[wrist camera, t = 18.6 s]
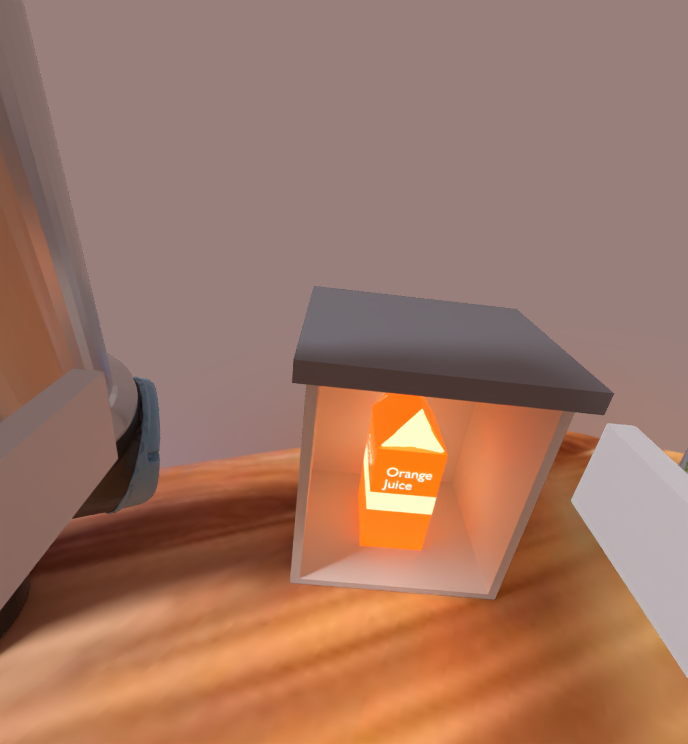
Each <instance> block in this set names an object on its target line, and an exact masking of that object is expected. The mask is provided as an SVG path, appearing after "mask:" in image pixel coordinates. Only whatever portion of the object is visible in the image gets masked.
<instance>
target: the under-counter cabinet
mask: <svg viewBox="0 0 688 744" xmlns="http://www.w3.org/2000/svg"><path fill="white" fill-rule="evenodd" d="M292 383H298V384H306V394H305V407H304V418H303V430H302V443H301V454H300V466H299V478H298V490H297V502H296V515H295V527H294V539H293V551H292V563H291V575H290V583H299V584H311V585H323V586H335V587H347V588H359V589H371V590H384V591H396V592H408V593H420V594H432V595H444V596H456V597H468V598H481V599H493V600H495V598H496V596H497V593H498V591H499V589H500V586H501V584H502V582H503V579H504V577H505V575H506V572H507V570H508V568H509V565H510V563H511V561H512V558H513V556H514V554H515V551H516V549H517V546H518V544H519V542H520V539H521V537H522V535H523V532H524V530H525V528H526V525H527V523H528V521H529V518H530V516H531V514H532V511H533V509H534V507H535V504H536V502H537V500H538V497H539V495H540V493H541V490H542V488H543V486H544V483H545V481H546V479H547V476H548V474H549V472H550V469H551V467H552V465H553V462H554V460H555V457H556V455H557V453H558V450H559V448H560V446H561V443H562V441H563V439H564V436H565V434H566V432H567V429H568V427H569V424H570V422H571V420H572V417H573V415H574V413H575V412H579V413H588V414H598V415H604V414H605V412H606V410H607V408H608V406H609V404H610V401H611V399H612V397H613V395H614V393H613V392H611V390H609V389H608V388H607V387H606V386H605V385H604V384H602V383H601V382H600V381H599V380H598V379H597V378H595V377H594V376H593V375H592V374H591V373H590V372H589V371H587V370H586V369H585V368H584V367H583V366H581V364H579V363H578V362H577V361H576V360H575V359H574V358H572V357H571V356H570V355H569V354H568V353H567V352H566V351H564V350H563V349H562V348H561V347H560V346H559V345H557V344H556V343H555V342H554V341H553V340H552V339H550V338H549V337H548V336H547V335H546V334H545V333H544V332H542V331H541V330H540V329H539V328H538V327H537V326H535V325H534V324H533V323H532V322H531V321H530V320H529V319H527V318H526V317H525V316H524V315H523V314H522V313H520V312H519V311H518V310H517V309H511V308H502V307H493V306H485V305H476V304H467V303H459V302H450V301H441V300H432V299H423V298H415V297H405V296H397V295H388V294H379V293H370V292H362V291H353V290H344V289H334V288H327V287H317V286H314V288H313V291H312V295H311V299H310V302H309V306H308V309H307V313H306V317H305V320H304V324H303V327H302V331H301V335H300V338H299V342H298V346H297V349H296V353H295V357H294V362H293V377H292ZM386 393H394V394H404V395H414V396H423V397H424V398H425V400H426V402H427V404H428V405H429V407H430V409H431V411H433V414H434V417H435V420H436V423H437V425H438V428H439V431H440V434H441V437H442V440H443V443H444V445H445V448H446V451H447V454H448V457H447V460H446V464H445V467H444V471H443V474H442V478H441V481H440V485H439V489H438V492H437V496H436V501H435V504H434V508H433V512H432V515H431V517H430V521H429V524H428V528H427V531H426V535H425V538H424V542H423V545H422V549H421V550H409V549H397V548H385V547H373V546H361V545H360V529H359V504H358V492H359V486H360V480H361V474H362V469H363V463H364V455H365V449H366V445H367V439H368V433H369V427H370V421H371V415H372V406H373V405H374V404H375V403H376V402H377V401H378V400H379V399H380V398H382V397H383V396H384V395H385V394H386Z"/></svg>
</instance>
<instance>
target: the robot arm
mask: <svg viewBox="0 0 688 744" xmlns="http://www.w3.org/2000/svg"><path fill="white" fill-rule="evenodd" d="M159 446H160V421H159V407H158V398H157V392H156V388H155V385H154V383H153V382H151V381H150V380H148V379H144V378H143V379H141V378H138V377H132V374H131V373H130V371H129V370H128V369H127V367H126V366H125V365H124V364H123V363H121V362H120V361H119V360H118V359H116V358H115V357H114V356H112V355H110V354H108V353H107V352H106V348H105V344H104V339H103V335H102V331H101V327H100V323H99V318H98V314H97V310H96V306H95V302H94V297H93V293H92V289H91V285H90V281H89V276H88V272H87V268H86V264H85V260H84V255H83V251H82V247H81V243H80V239H79V234H78V230H77V226H76V222H75V217H74V213H73V209H72V205H71V200H70V196H69V192H68V188H67V184H66V179H65V175H64V171H63V167H62V163H61V158H60V154H59V150H58V146H57V141H56V137H55V133H54V129H53V125H52V120H51V116H50V112H49V108H48V104H47V99H46V96H45V91H44V87H43V82H42V78H41V74H40V70H39V66H38V61H37V57H36V53H35V49H34V45H33V40H32V36H31V32H30V28H29V24H28V20H27V15H26V11H25V7H24V3H23V0H0V637H1V636H2V635H3V634H4V633H5V632H6V631H7V629H8V628H9V627H10V626H11V624H12V623H13V622H14V620H15V619H16V617H17V616H18V614H19V613H20V611H21V609H22V607H23V605H24V603H25V601H26V598H27V595H28V591H29V586H30V576H29V573H30V571H31V570H32V569H33V568H34V566H35V565H36V564H37V562H38V561H39V560H40V559H41V557H42V556H43V555H44V553H45V552H46V551H47V550H48V548H49V547H50V546H51V544H52V543H53V542H54V541H55V539H56V538H57V537H58V535H59V534H60V533H61V532H62V530H63V529H64V528H65V526H66V525H67V524H68V523H69V521H70V520H71V519H74V518H79V517H84V516H89V515H94V514H100V513H109V514H110V513H116V512H118V511H119V510H121V509H123V508H127V507H131V506H135V505H139V504H142V503H144V502H146V501H148V500H149V499H150V498H151V497H152V496H153V495H154V493H155V491H156V488H157V484H158V478H159V466H160V465H159V464H160V463H159V462H160V459H159V453H158V452H159ZM571 502H572V504H573V505H574V507H575V509H576V510H577V512H578V513H579V515H580V516H581V518H582V519H583V521H584V522H585V524H586V525H587V527H588V528H589V530H590V531H591V533H592V534H593V536H594V537H595V539H596V540H597V542H598V543H599V545H600V546H601V548H602V549H603V551H604V552H605V554H606V556H607V557H608V559H609V560H610V562H611V563H612V565H613V566H614V568H615V569H616V571H617V572H618V574H619V575H620V577H621V578H622V580H623V581H624V583H625V584H626V586H627V587H628V589H629V590H630V592H631V593H632V595H633V596H634V598H635V599H636V601H637V603H638V604H639V606H640V607H641V609H642V610H643V612H644V613H645V615H646V616H647V618H648V619H649V621H650V622H651V624H652V625H653V627H654V628H655V630H656V631H657V633H658V634H659V636H660V637H661V639H662V640H663V642H664V643H665V645H666V647H667V648H668V650H669V651H670V653H671V654H672V656H673V657H674V659H675V660H676V662H677V663H678V665H679V666H680V668H681V669H682V671H683V672H684V674H685V675H686V677H687V678H688V474H687V473H686V472H685V471H684V470H683V469H682V468H681V467H679V466H678V465H677V464H676V463H675V462H674V461H673V460H672V459H671V458H670V457H669V456H667V455H666V454H665V453H664V452H663V451H662V450H661V449H660V448H659V447H658V446H656V445H655V444H654V443H653V442H652V441H651V440H650V439H649V438H648V437H647V436H645V435H644V434H643V433H642V432H641V431H640V430H639V429H638V428H637V427H636V426H630V425H619V424H610V423H608V424H607V425H606V427H605V430H604V432H603V434H602V436H601V438H600V440H599V442H598V444H597V446H596V448H595V451H594V453H593V455H592V457H591V459H590V461H589V463H588V465H587V467H586V470H585V472H584V474H583V476H582V478H581V480H580V482H579V484H578V486H577V488H576V491H575V493H574V495H573V497H572V499H571Z"/></svg>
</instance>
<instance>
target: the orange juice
mask: <svg viewBox="0 0 688 744" xmlns="http://www.w3.org/2000/svg"><path fill="white" fill-rule="evenodd" d="M447 457H448V454H447V451H446V448H445V445H444V443H443V440H442V437H441V434H440V431H439V428H438V425H437V423H436V420H435V417H434V414H433V411H431V409H430V407H429V405H428V404H427V402H426V400H425V398H424V397H423V396H414V395H404V394H394V393H386V394H385V395H384V396H383V397H382V398H380V399H379V400H378V401H377V402H376V403H375V404H374V405H373V406H372V415H371V421H370V427H369V433H368V439H367V445H366V449H365V455H364V463H363V469H362V474H361V480H360V486H359V492H358V504H359V529H360V545H361V546H373V547H385V548H397V549H409V550H421V549H422V545H423V542H424V538H425V535H426V531H427V528H428V524H429V521H430V517H431V515H432V512H433V508H434V504H435V501H436V496H437V492H438V489H439V485H440V481H441V478H442V474H443V471H444V467H445V464H446V460H447Z"/></svg>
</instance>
